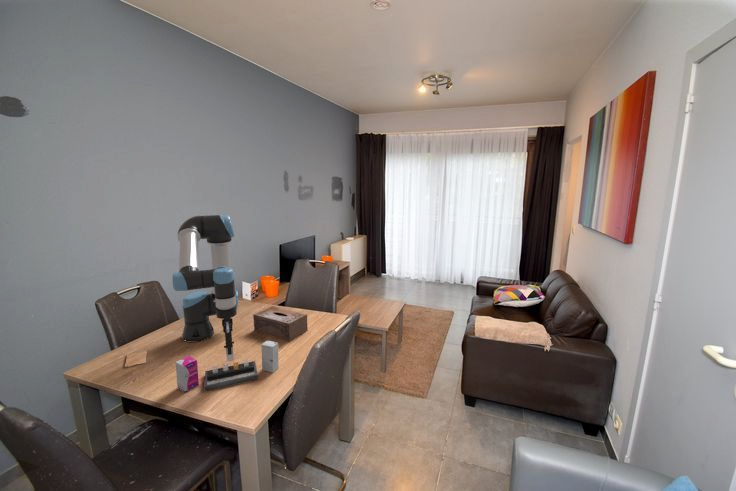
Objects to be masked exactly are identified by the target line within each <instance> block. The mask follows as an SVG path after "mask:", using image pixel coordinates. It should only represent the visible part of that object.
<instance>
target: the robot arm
mask: <svg viewBox="0 0 736 491" xmlns="http://www.w3.org/2000/svg"><path fill="white" fill-rule="evenodd" d="M234 232H235V231H234V227H233V223H232V220H231V217H230V215H226V214H215V215H214V214H213V215H212V214H211V215H195V216H192V217H189V218H188V219H186V220H185V221H184V222H183V223H182V224H181V225H180V226H179V229H178V230H177V240H178V242H179V254H178V255H179V258H178V260H179V262H178V266H179V267H178V272H174V273H173V274H172V288H173V290H174V291H175V292H187V291H192V290H201V289H210V288H213V289H211V292H210V293H208V292H207V291H205V290H203V291H195V292H192V293H190V294H188V295H185V297H183V299H182V309H183V317H184V318H183V320H184V327H183V330H182V334H181V337H182V338H183V339H182V341H183V340H186V341H198V342H202V341H201V340H203V341H205V340H204V339H206V340H207V338H208V339H210V338H211V336H212V337H213V336H214V335H213V334H215V330H214V327H213V325H212V323H211V321H210V317H213V316H216V318H218V319H220V320H221V326H222V331H223V333H224V341H225V343H224V344H225V345H224V346H223V349H225V354H226V355H225V357H226V362H227V363H228V362H233V361H234V360H235V358H234V357H235V356H234V344H235V341H233V337H232V332H233V325H234V324H233V322H234V321H233V318H234V317H235V316H236V315H237V313H238V305H239V292H238V290H236V287H235V274H234V269H233V268H231V257H230V247H229V246H230V243H231V242H232V238H234V237H235V233H234ZM200 240H206V243H207V244H208V245H210V253H211V254H210V255H211V266H212V269H202V270H200V260H199V259H200V255H199V254H200V253H199V251H200V250H199V242H200Z"/></svg>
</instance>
